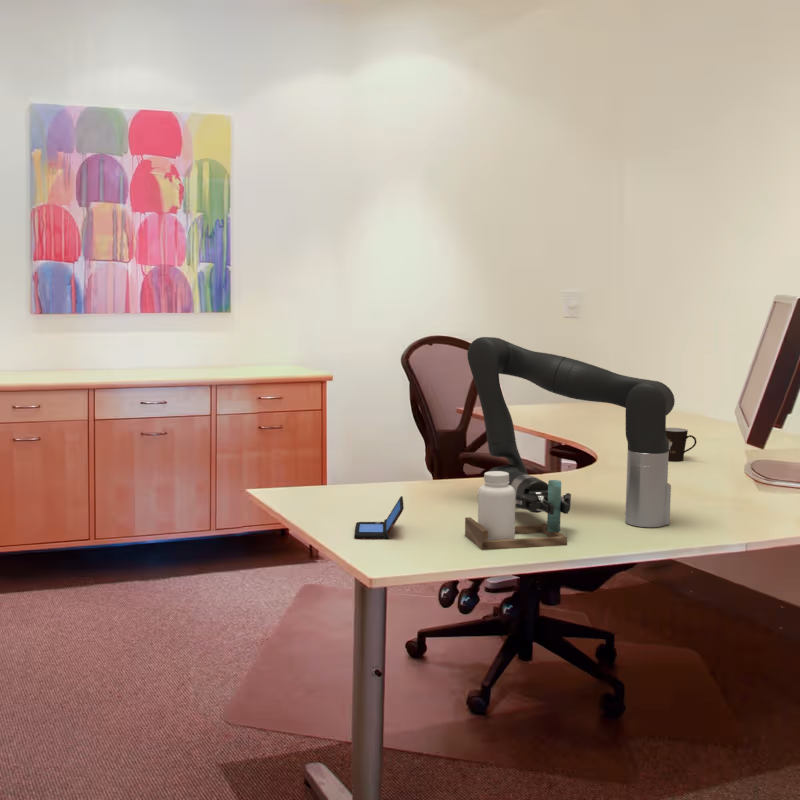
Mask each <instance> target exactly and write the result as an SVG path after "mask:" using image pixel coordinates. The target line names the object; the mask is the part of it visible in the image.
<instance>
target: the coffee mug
mask: <svg viewBox="0 0 800 800" xmlns="http://www.w3.org/2000/svg"><path fill="white" fill-rule="evenodd" d="M688 433H689V429H687V428H682V427H666V437H667V439H668V441H669V451H668V452H669V454H668V462H669V463H670V462H674V463H675V462H676V463H679V462H683V461H684V457H685V456H684V455H685V453H687V452H689V451H690V450H692V449H693V448H694V447H695V446H696V445H697V438H696V437H695V436H694V435H693V434H692V435H691V434H689V435H688ZM689 438H692V439H693V442H694V443H693V445H692V446H690V447H689V448H686V444H687V440H688V439H689Z"/></svg>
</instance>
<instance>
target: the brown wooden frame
mask: <svg viewBox="0 0 800 800" xmlns="http://www.w3.org/2000/svg"><path fill="white" fill-rule="evenodd" d="M547 484H548V502H550V503H551V504H553V506H554V513H553V514H548V513H547V516H546V517H547V519H546V520H547V521H546V522H547V524H546V523H541V524H540V523H538V524H537V523H535V524H523V525H522V524H521V525H520V524H519V525H516V524H515V535H519V534H521V535H522V534H537V533H543V534H544V535H546V536H544V537H542V536H541V537H529V538H528V537H525V538H524V537H523V538H514V539H505V540H488V530H486V529H485V528H484V527H482V526H481V525H480V524H478V521H476V520H475V519H473V518H472V517H471V516H470V517H469V516H468V517H465V519H464V536H465V537H466V538H467V539H469V540H470V541H471V542H472V543H473V544H475V545H476V546H477V547H478V548H479V549H481V550H482V551H483V550H484V551H485V550H501V549H505V550H506V549H518V548H534V547H535V548H537V547H550V546H551V547H552V546H553V547H554V546H555V547H557V546H567V545H568V537H567V536H565V535H564V534H563V533H561V513H562V512H561V496H562V481H561V480H559V479H550V480H548V482H547Z"/></svg>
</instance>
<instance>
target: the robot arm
mask: <svg viewBox="0 0 800 800" xmlns="http://www.w3.org/2000/svg"><path fill="white" fill-rule="evenodd" d="M466 356H467V362H468V366H469V368H470V371H471V374H472V377H473V381H474V384H475V388H476V391H477V392H476V393H477V395H478V399H479V402H480V406H481V410H482V415H483V421H484V427H485V432H486V433H485V434H486V441H487V448H488V452H489V455H490V456H492V457H494V458H495V457H496V458H506V460H507V461H508V463H509V464H506V465H501V466H494V467H492V468H491V469H489V470H488V471H487V472H489V471H503V472H507V473H509V480H508V481H509V483H508V485H511V486H512V487H513V488H514V490H515V508H519V509H521V510H522V509H523V510H527V511H529V512H531V513H533V514H534V513H535V514H537V513H547V515H548V514H553V513H554V506H553V504H551V503H550V502H548V482H545V481H544V480H542V479H541V478H538V477H536V476H533V475H529V472H528V470H527V468H526V465H525V463H524V462H523V460H522V457H521V455H520V452H519V448H518V447H517V446H518V445H517V441H516V435H515V428H514V427H515V426H514V422H513V418H512V415H511V413H510V411H509V408H508V405H507V403H506V401H505V398H504V396H503V395H504V394H503V393H502V388H501V384H500V383H501V382H500V375H507V376H511V377H516V378H520V379H523V380H527V381H529V382H530V383H532V384H535V385H536V386H537V387H539V388H541V389H543V390H546V391H548V392H550V393H553V394H556V395H559V396H563V397H566V398H568V399H569V398H570V399H574V400H579V401H587V402H594V403H595V402H596V403H607V404H610V405H611V404H612V405H614V406H615V405H616V406H618V407H621V408H625V437H626V441H627V459H626V463H627V464H626V486H625V487H626V488H625V489H626V490H625V512H624V515H625V519H624V520H625V523H626V524H628V525H631V526H635V527H642V528H659V527H661V528H662V527H664V526H667V525H668V526H669V525H670V524H671V523H670V521H671V518H670V516H671V495H672V494H671V493H672V485H671V484H670V483H668V480H669V479H668V477H669V476H668V474H669V461H668V454H669V452H668V451H669V441H668V439H667V437H666V428H667V425H666V423H667V422H666V421H667V416H668V415H669V414H670V413H671V411H672V410H673V409H674V407H675V404H676V403H675V402H676V401H675V396H674V394H673V391H672V389H671V388H670V387H668V386H667V385H666V384H665V383H663V382H661V381H659V380H658V381H657V380H651V379H644V378H639V377H632V376H629V375H623V374H619V373H616V372H613V371H610V370H608V369H606V368H602V367H599V366H597V365H594V364H591V363H587V362H584V361H581V360H578V359H575V358H571V357H567V356H561V355H558V354H553V353H547V352H540V351H533V350H530V349H528V348H527V349H526V348H524V347H521V346H519V345H517V344H514V343H511V342H509V341H508V340H505V339H502V338H500V337H494V336H493V337H492V336H490V337H489V336H483V337H482V336H481V337H478V338H476V339H474V340H473V341H472V342H471V343H470V345H469V346H468V349H467V354H466ZM571 502H572V494H571V493H569V492H567V493H566V492H565V494H563V495H561V513H562V514H565V515H567V514H569V512H570V510H571Z"/></svg>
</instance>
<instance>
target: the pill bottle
mask: <svg viewBox="0 0 800 800" xmlns="http://www.w3.org/2000/svg"><path fill="white" fill-rule="evenodd" d="M488 471H489V470H488ZM488 471H486V472H484V474H483V476H484V477H483V481H484V484H481V486H480V487H479V488H478V492H477V493H478V494H477V495H478V497H477V506H478V507H477V523H478V524H480V525H481V526H482V527H484V528H485V529H486V530H488V540H505V539H516V538H515V535H516V534H515V526H516V501H515V490H514V488H513V487H512V486H511V485H508V483H509V481H508V480H509V473H507V472H503V471H489V472H488Z"/></svg>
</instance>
